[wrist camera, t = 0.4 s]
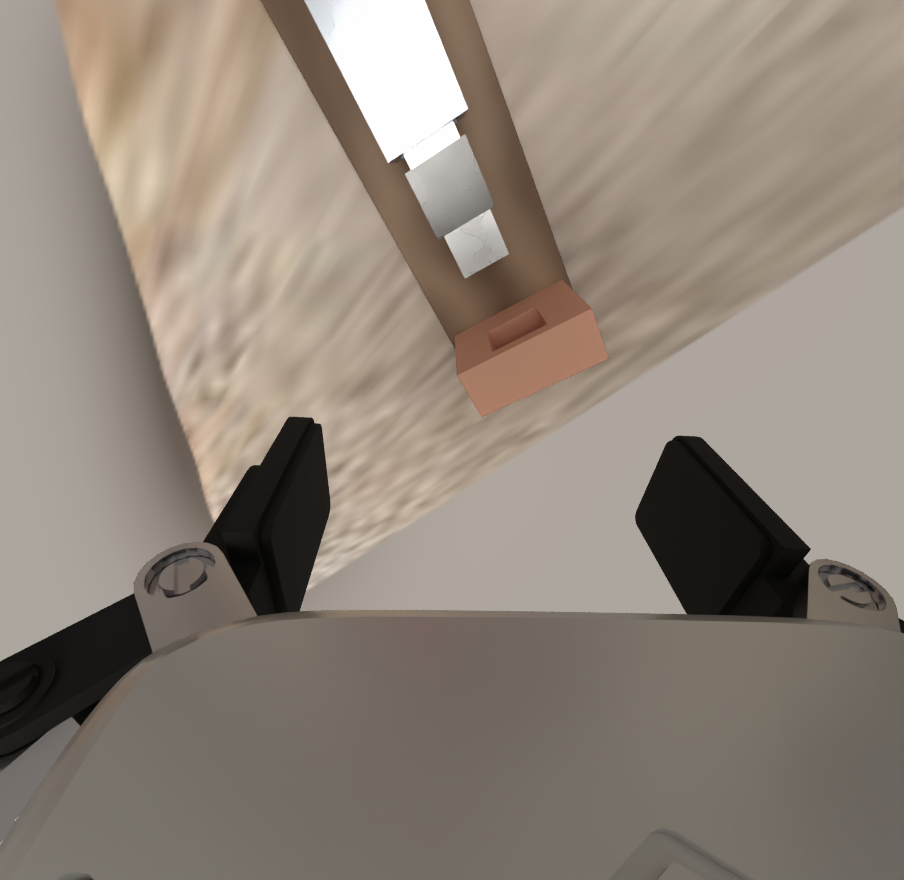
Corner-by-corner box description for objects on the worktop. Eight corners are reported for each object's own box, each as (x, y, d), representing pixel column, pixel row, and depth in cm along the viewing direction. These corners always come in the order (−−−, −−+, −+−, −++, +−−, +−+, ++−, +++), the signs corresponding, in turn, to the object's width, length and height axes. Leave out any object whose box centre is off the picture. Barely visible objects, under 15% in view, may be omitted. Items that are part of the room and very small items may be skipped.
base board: (404, -169, 22) (401, -189, 21) (578, 313, 37) (583, 319, 36) (249, -29, 25) (238, -39, 24) (468, 368, 40) (469, 375, 38)
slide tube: (340, -138, 20) (263, -364, 11) (502, 245, 29) (527, 278, 21) (287, -90, 20) (179, -267, 12) (462, 268, 30) (470, 309, 22)
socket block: (561, 279, 34) (591, 308, 27) (577, 321, 36) (608, 358, 29) (454, 336, 36) (457, 375, 29) (474, 372, 38) (481, 417, 31)
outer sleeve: (353, -144, 22) (317, -269, 15) (462, 121, 28) (468, 109, 22) (279, -77, 23) (218, -166, 17) (399, 163, 29) (388, 163, 23)
